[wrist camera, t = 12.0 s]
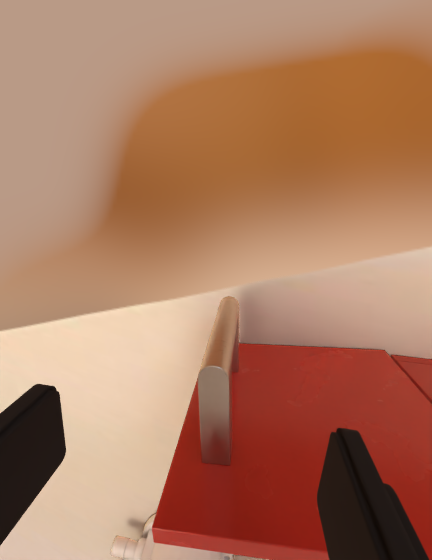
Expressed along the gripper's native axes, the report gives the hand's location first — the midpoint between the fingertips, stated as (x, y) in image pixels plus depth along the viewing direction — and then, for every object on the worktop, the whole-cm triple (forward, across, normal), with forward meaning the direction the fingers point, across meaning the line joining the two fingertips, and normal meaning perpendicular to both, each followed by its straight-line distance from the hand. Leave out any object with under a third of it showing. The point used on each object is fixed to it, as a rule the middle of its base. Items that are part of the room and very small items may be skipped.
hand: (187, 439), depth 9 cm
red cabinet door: (+18, -7, +3) cm, 19 cm away
